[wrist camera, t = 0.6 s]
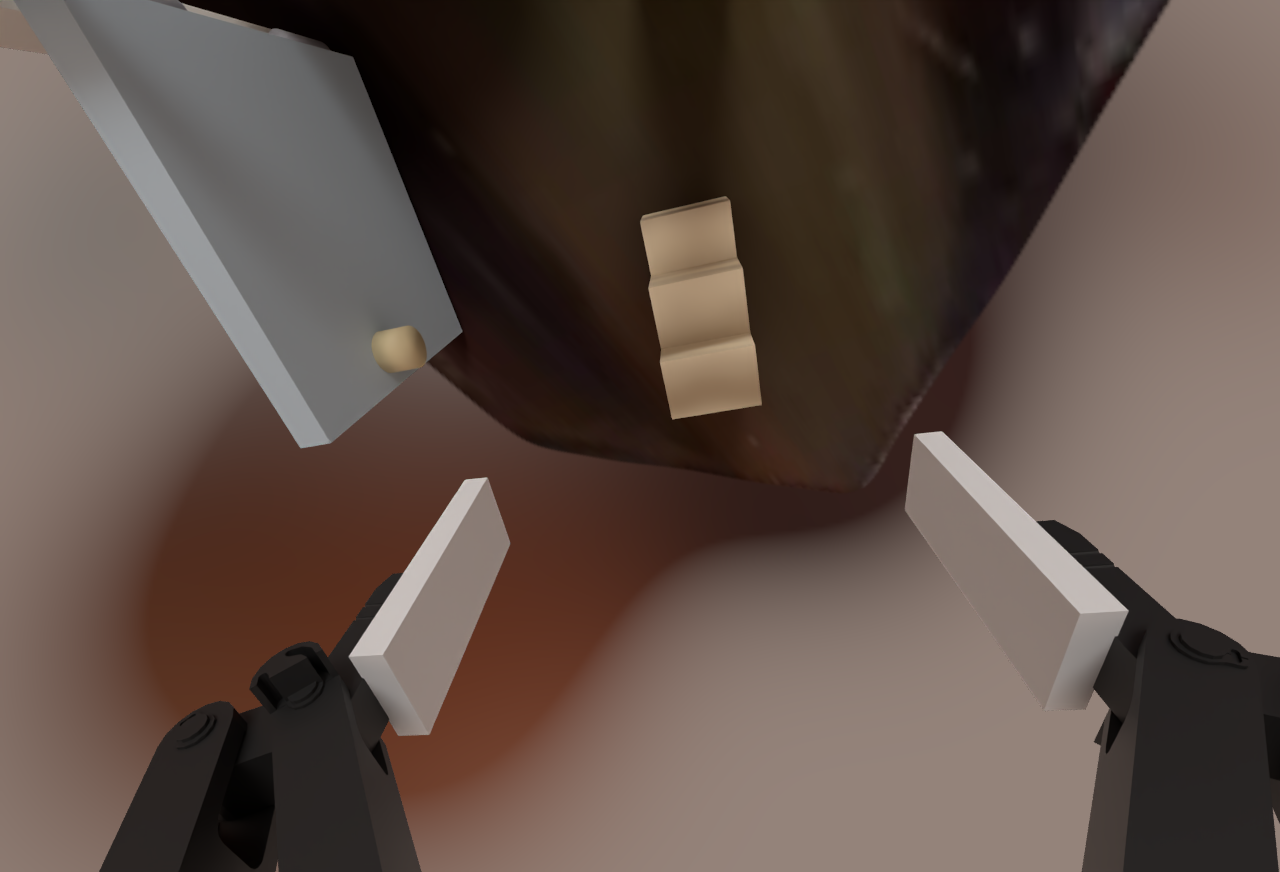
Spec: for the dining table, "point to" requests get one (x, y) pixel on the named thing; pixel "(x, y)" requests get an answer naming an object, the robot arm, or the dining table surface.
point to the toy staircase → (700, 309)
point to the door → (264, 196)
